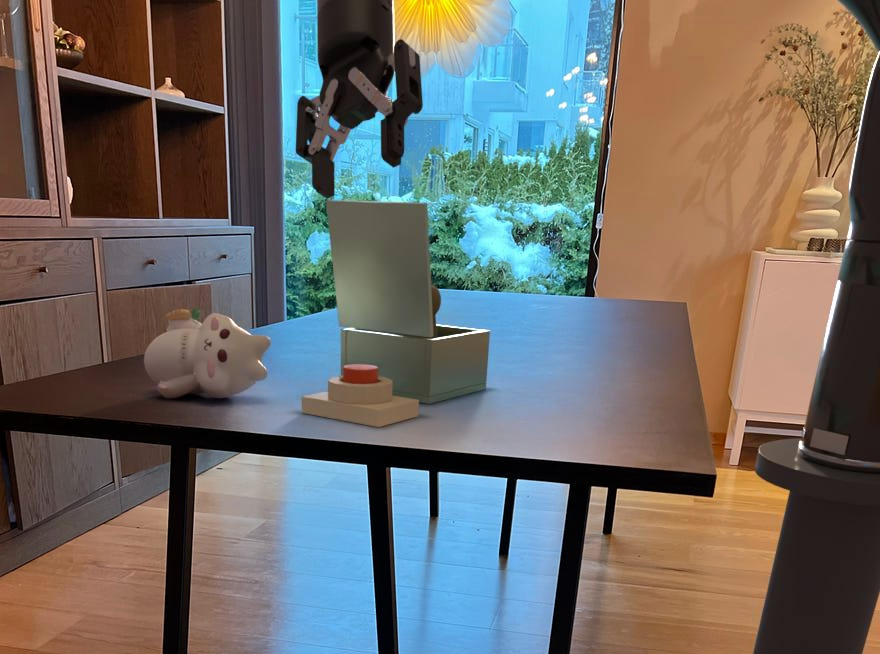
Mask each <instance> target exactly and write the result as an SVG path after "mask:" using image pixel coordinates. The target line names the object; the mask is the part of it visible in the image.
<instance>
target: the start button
mask: <svg viewBox="0 0 880 654" xmlns="http://www.w3.org/2000/svg"><path fill="white" fill-rule="evenodd" d="M343 382H345V383H352V384H374V383H378V367H377V366H374V365H366V364H351V365H345V366H343Z"/></svg>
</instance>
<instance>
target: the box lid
mask: <svg viewBox="0 0 880 654" xmlns="http://www.w3.org/2000/svg"><path fill="white" fill-rule="evenodd" d="M325 205H326V213H327V223H328V224H327V225H328V233H329V242H330V253H331V262H332V263H331V264H332V272H333V280H334V290H335V299H336V310H337V318H338V327H340V328H357V329H365V330H373V331H382V332H390V333H398V334H407V335H415V336H423V337H433V336H434V334H433V313H432V292H431V285H432V274H431V255H430V253H431V251H430V235H429V234H430V233H429V231H430V230H429V210H428V202H413V201H412V202H411V201H410V202H409V201H378V200H377V201H374V200H343V199H342V200H341V199H340V200H339V199H327V200H325Z"/></svg>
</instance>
